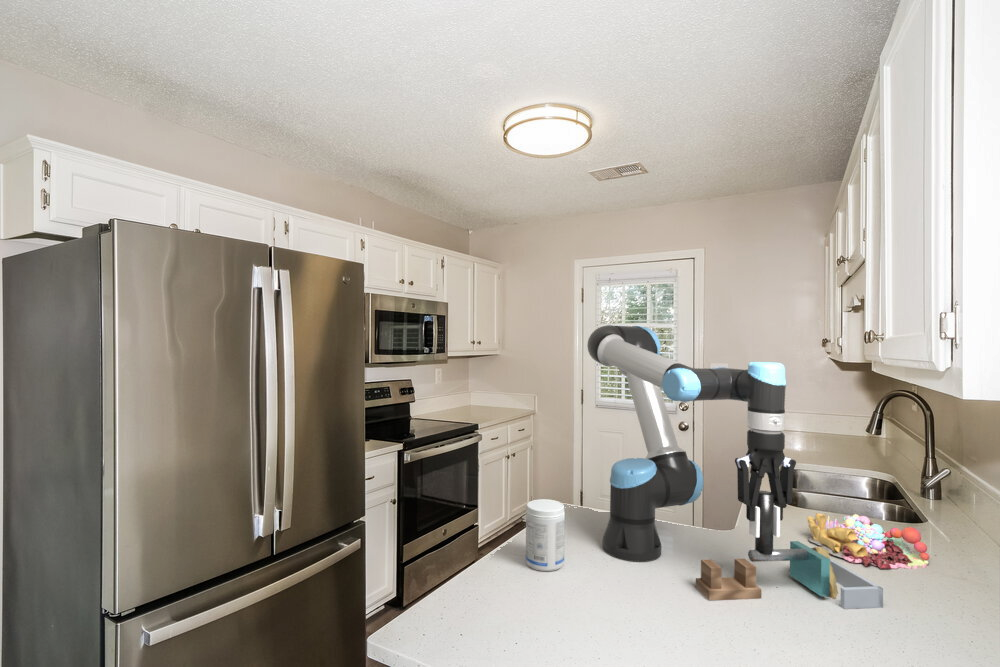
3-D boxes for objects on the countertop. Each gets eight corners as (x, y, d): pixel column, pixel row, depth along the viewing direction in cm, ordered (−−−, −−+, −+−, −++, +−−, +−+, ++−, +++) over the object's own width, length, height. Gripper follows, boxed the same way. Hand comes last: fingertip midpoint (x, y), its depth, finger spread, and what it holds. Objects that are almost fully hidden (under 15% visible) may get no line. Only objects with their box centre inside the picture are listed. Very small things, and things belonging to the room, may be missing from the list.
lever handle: (764, 598, 110) (766, 500, 110) (738, 576, 120) (739, 486, 120) (829, 596, 111) (830, 499, 112) (797, 575, 121) (798, 486, 122)
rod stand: (709, 600, 110) (709, 570, 110) (695, 587, 116) (695, 558, 116) (761, 598, 112) (761, 568, 112) (745, 585, 118) (745, 556, 118)
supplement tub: (553, 554, 133) (554, 497, 133) (571, 569, 124) (572, 508, 124) (519, 558, 129) (520, 500, 130) (534, 575, 120) (535, 512, 121)
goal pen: (844, 609, 108) (844, 589, 108) (789, 572, 125) (789, 555, 125) (882, 607, 109) (883, 588, 109) (823, 571, 126) (823, 555, 126)
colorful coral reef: (865, 575, 125) (865, 537, 125) (790, 538, 148) (791, 506, 148) (945, 567, 131) (945, 531, 131) (861, 533, 154) (861, 502, 154)
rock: (812, 562, 126) (788, 564, 121) (836, 542, 122) (812, 543, 117) (846, 604, 118) (821, 608, 114) (872, 584, 114) (848, 587, 110)
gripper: (739, 433, 111) (737, 542, 110) (813, 433, 113) (811, 540, 112) (720, 427, 118) (719, 529, 118) (789, 427, 120) (788, 528, 120)
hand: (764, 534), depth 115 cm, fingers open, 4 cm apart
